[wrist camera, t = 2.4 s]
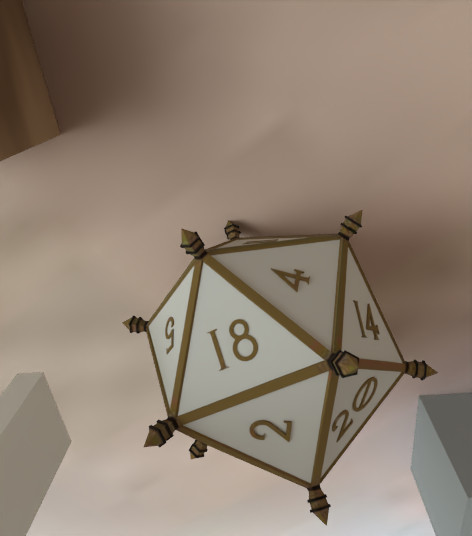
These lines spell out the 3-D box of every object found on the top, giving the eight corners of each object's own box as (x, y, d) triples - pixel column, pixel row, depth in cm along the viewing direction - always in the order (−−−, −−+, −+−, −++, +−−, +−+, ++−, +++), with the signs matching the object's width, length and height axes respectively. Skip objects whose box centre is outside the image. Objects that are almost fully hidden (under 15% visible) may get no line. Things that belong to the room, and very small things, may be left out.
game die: (270, 205, 19) (429, 104, 10) (349, 371, 20) (578, 432, 10) (81, 293, 16) (41, 272, 7) (177, 483, 17) (264, 712, 7)
